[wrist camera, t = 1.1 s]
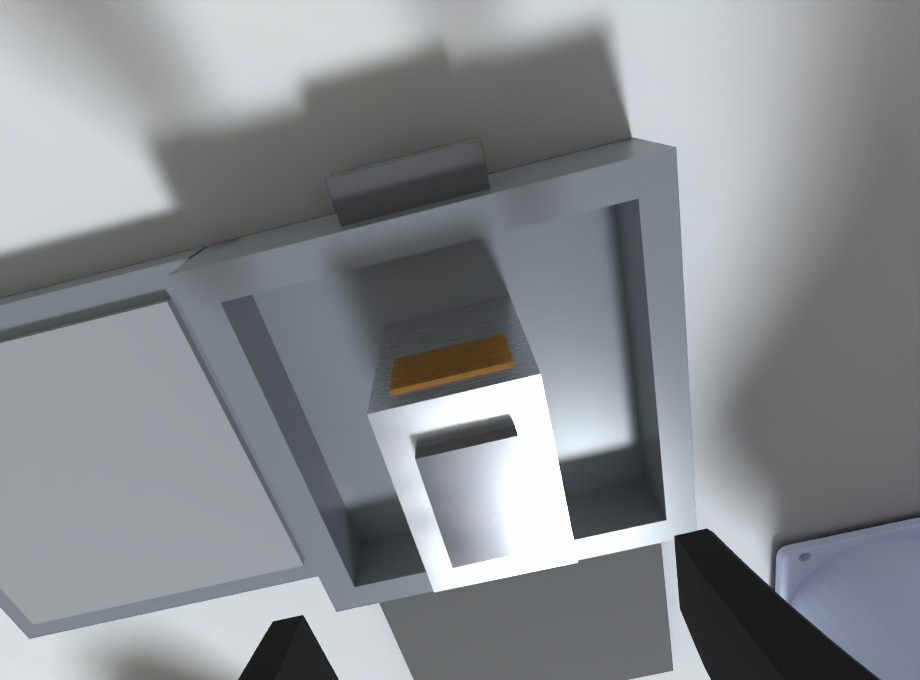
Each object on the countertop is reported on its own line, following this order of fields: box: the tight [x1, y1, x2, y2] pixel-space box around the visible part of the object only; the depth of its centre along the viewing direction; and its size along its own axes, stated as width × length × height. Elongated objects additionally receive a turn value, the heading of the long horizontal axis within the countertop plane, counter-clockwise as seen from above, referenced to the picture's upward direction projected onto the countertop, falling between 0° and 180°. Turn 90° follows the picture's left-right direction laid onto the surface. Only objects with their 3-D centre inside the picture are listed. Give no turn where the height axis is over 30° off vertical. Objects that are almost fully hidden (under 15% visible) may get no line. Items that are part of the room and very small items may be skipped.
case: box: [0, 137, 697, 639], centre depth 17 cm, size 26×14×3 cm, turn 103°
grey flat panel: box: [380, 543, 673, 680], centre depth 24 cm, size 12×10×1 cm
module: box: [367, 295, 577, 592], centre depth 15 cm, size 4×6×5 cm, turn 13°
